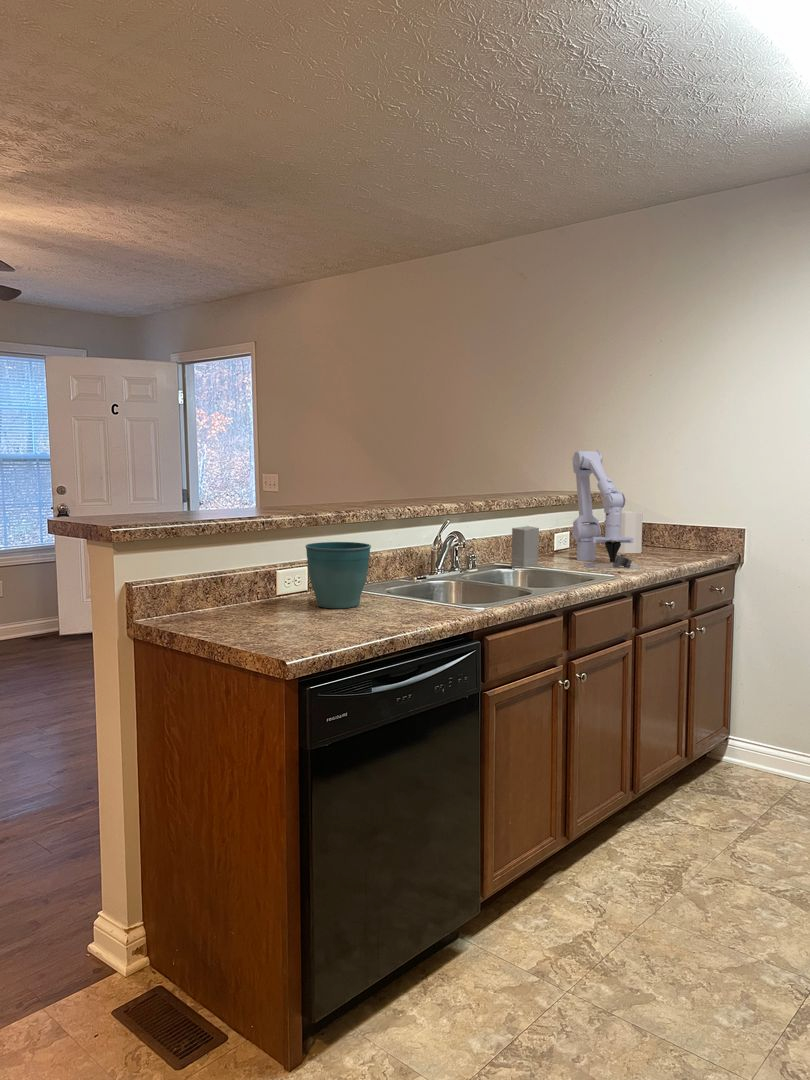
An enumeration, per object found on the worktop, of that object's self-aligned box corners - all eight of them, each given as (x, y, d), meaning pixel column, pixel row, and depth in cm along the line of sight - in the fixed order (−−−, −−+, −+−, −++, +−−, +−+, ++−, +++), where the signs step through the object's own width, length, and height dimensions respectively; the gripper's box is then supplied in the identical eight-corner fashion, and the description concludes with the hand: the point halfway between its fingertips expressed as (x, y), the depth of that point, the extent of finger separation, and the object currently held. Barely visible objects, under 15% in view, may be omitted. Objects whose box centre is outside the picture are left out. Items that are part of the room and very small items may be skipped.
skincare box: (525, 567, 304) (525, 525, 302) (539, 569, 298) (540, 527, 297) (509, 569, 298) (510, 527, 297) (524, 571, 293) (524, 528, 291)
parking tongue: (554, 566, 308) (554, 562, 308) (575, 566, 308) (575, 562, 307) (556, 568, 300) (556, 564, 300) (578, 569, 300) (578, 565, 299)
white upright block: (644, 554, 347) (646, 511, 345) (637, 557, 337) (638, 513, 335) (619, 553, 352) (620, 510, 351) (611, 555, 343) (612, 512, 341)
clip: (612, 564, 300) (616, 554, 299) (625, 569, 300) (629, 559, 299) (614, 566, 295) (619, 555, 294) (627, 570, 295) (632, 560, 294)
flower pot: (383, 603, 227) (383, 543, 226) (347, 613, 212) (346, 549, 210) (331, 598, 236) (330, 540, 235) (292, 607, 221) (292, 546, 219)
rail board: (581, 567, 305) (581, 562, 305) (635, 567, 304) (635, 563, 303) (586, 572, 292) (586, 567, 291) (643, 572, 290) (643, 568, 290)
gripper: (594, 526, 293) (593, 563, 294) (635, 526, 291) (634, 563, 293) (592, 524, 300) (591, 561, 301) (631, 525, 298) (630, 561, 300)
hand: (612, 562), depth 297 cm, fingers closed
